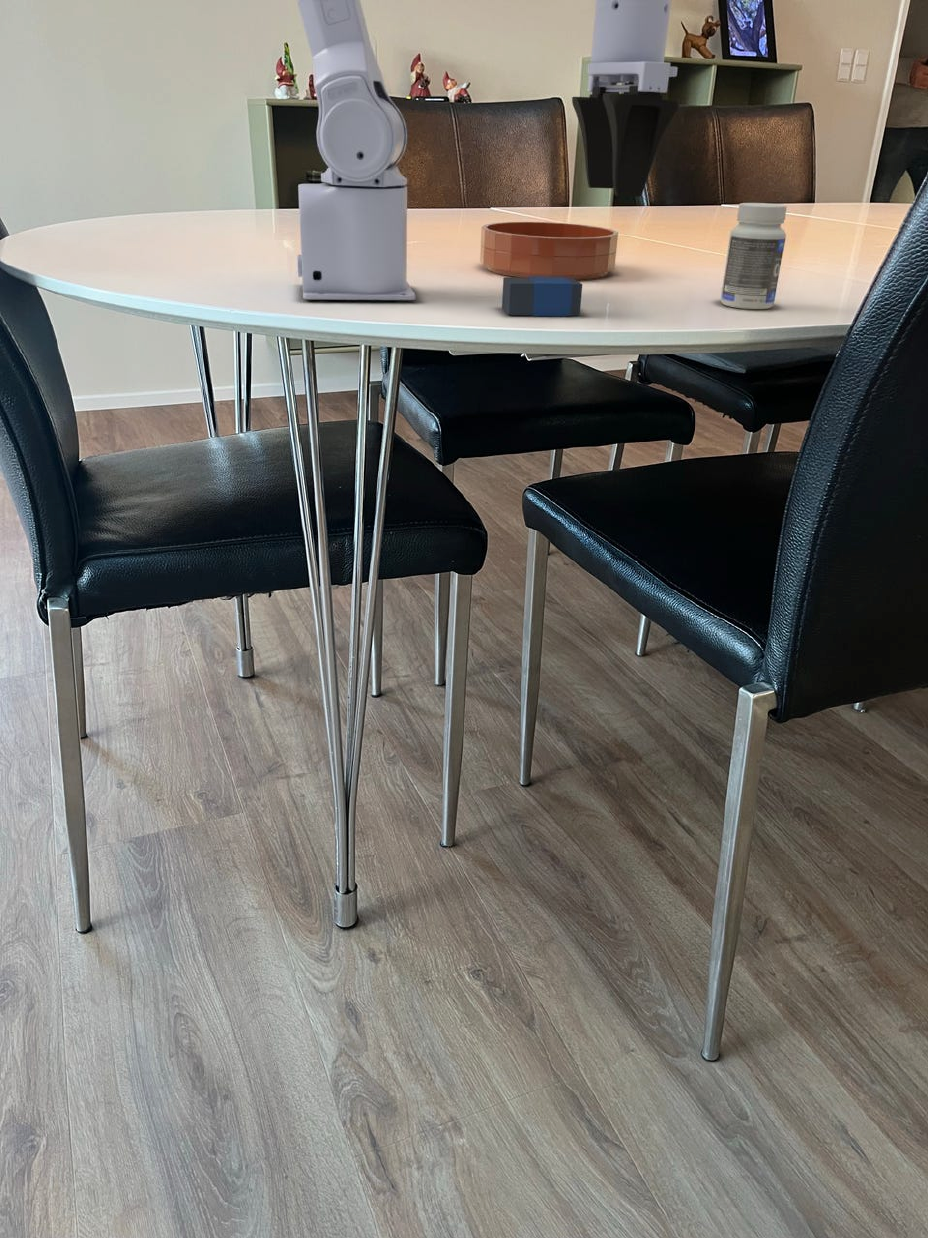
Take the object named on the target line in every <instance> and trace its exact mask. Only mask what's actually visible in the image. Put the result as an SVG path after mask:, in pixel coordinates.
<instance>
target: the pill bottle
mask: <svg viewBox="0 0 928 1238" xmlns="http://www.w3.org/2000/svg"><path fill="white" fill-rule="evenodd" d="M786 213H787V205H786V204H779V203H770V202H769V203H767V202H766V203H765V202H742V203H741V202H740V203H739V205H738V209H737V215H736V218H737V219H736V221H737V222H738V225H736V226H734V227H733V228H732V229H731V230H730V234H729V240H728V247H727V254H726V261H725V267H724V274H723V281H722V287H721V292H720V302H721V304H722V305H724V306H726V307H730V308H736V309H744V310H746V309H747V310H767V309H771V308H772V307H773V306H774V304H775V299H776V295H777V289H778V283H779V276H780V272H781V265H782V260H783V255H784V249H785V243H786V237H787V233H786V231H785V230H784V229H783V228H782V224H784V223H785V220H786Z"/></svg>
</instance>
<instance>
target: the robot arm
mask: <svg viewBox="0 0 928 1238" xmlns="http://www.w3.org/2000/svg"><path fill="white" fill-rule="evenodd" d="M296 2H297V6H298V9H299V13H300V17H301V19H302V24H303V27H304V32H305V35H306V38H307V43H308V47H309V50H310V54H311V57H312V64H313V65H312V66H313V67H312V69H313V72H312V73H313V88H314V92H315V97H316V99H317V103H318V104H317V105H318V118H317V119H318V120H317V126H316V143H317V149H318V152H319V154H320V156H321V158H322V160H323V162H324V163H325V165H326V166H327V168H326V171H324V172H323V173H320V182H322V183H300V184H298V186H297V189H298V210H299V211H298V212H299V233H300V234H299V235H300V236H299V237H300V254H297V255H296V258H297V259H296V260H297V261H296V263H297V277H299V278H301V281H302V298H303V300H316V301H317V300H319V301H321V300H322V301H323V300H326V301H327V300H330V301H332V300H333V301H334V300H335V301H339V300H340V301H414V300H416V294H415V292H414V291H413V289H412V287H411V285H410V284H409V282H408V280H407V278H408V277H407V276H408V275H407V271H408V270H407V269H408V265H407V264H408V261H407V260H408V255H407V254H408V239H407V238H408V186H407V185H408V178H407V177H405V176H404V175H403V174H402V173H401V172H400V169H399V167H398V166H397V164H398V163H399V162H400V161H401V159H402V157H403V155H404V153H405V152H406V147H407V144H408V129H407V124H406V121H405V118H404V116H403V113H402V112H401V111H400V109H399V108H398V107H397V105H396V104H395V102H394V101H393V100H392V99H391V97H390V95H389V94H388V92H387V89H386V85H385V82H384V81H385V80H384V78H383V74H382V71H381V68H380V66H379V63H378V59H377V57H376V55H375V52H374V49H373V46H372V43H371V39H370V35H369V30H368V27H367V23H366V19H365V13H364V10H363V6H362V4H361V2H362V1H361V0H296ZM671 4H672V0H595V11H594V18H593V19H594V21H593V31H592V42H591V43H592V44H591V55H590V62H589V63H587V72H586V73H587V75H588V79H587V93H590V94H589V96H572V97H571V104H572V106H573V108H574V111H575V115H576V117H577V120H578V124H579V127H580V128H579V129H580V132H581V138H582V144H583V152H584V163H585V174H586V180H587V186H588V188H590V189H613V194H614V196H617V197H639V198H640V197H642V195H643V192H644V190H645V187H646V185H647V182H648V178H649V175H650V172H651V169H652V166H653V162H654V160H655V156H656V153H657V151H658V148H659V146H660V143H661V141H662V139H663V137H664V135H665V132H666V130H667V129H668V126H669V125H670V123H671V121H672V120H673V118H674V117H675V115H676V114H677V112H678V111H679V109H680V105H681V100H680V99H669V98H668V99H666V98H665V99H663V95H662V94H663V93H665V94H666V93H667V92H668V86H669V79H670V78H675V77H677V75H678V67H677V66H671V62H665V56H666V48H667V47H666V46H667V40H668V39H667V38H668V30H669V21H670V15H671V14H670V13H671V6H672V5H671ZM630 83H632V84H630ZM661 93H662V94H661Z"/></svg>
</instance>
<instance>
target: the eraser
mask: <svg viewBox="0 0 928 1238" xmlns="http://www.w3.org/2000/svg"><path fill="white" fill-rule="evenodd" d="M582 294H583V283H581V282H580V281H579V280H575V279H574V278H564V277H527V278H520V277H513V276H507V277H506V276H504V277H503V278H502V296H501V297H502V298H501V299H502V300H501V309H502V310H503V311H504V312H505V313H506V314H507V316H532V317H573V316H581V306H582V305H581V303H582Z"/></svg>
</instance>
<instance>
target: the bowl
mask: <svg viewBox="0 0 928 1238" xmlns="http://www.w3.org/2000/svg"><path fill="white" fill-rule="evenodd" d="M480 230H481V231H480V233H481V234H480V253H479V254H480V255H479V262H480V263H481V264H482V265H483V266H486V270H488V271H489V272H492V273H495V274H498V275H502V276H507V277H516V278H527V277H564V278H574V279H575V280H577V281H584V280H594V279H600V278H603V277H606V276H607V275H608V273H609V272H612V271H614V270H615V267H616V259H617V250H618V249H617V248H618V238H619V231H617V230H614V229H612V228H611V229H610V228H607V227H602V226H596V225H587V224H578V223H569V222H568V223H567V222H566V223H565V222H552V221H551V222H550V221H549V222H548V221H503V222H493V223H487V224H483V226H481V229H480Z"/></svg>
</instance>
